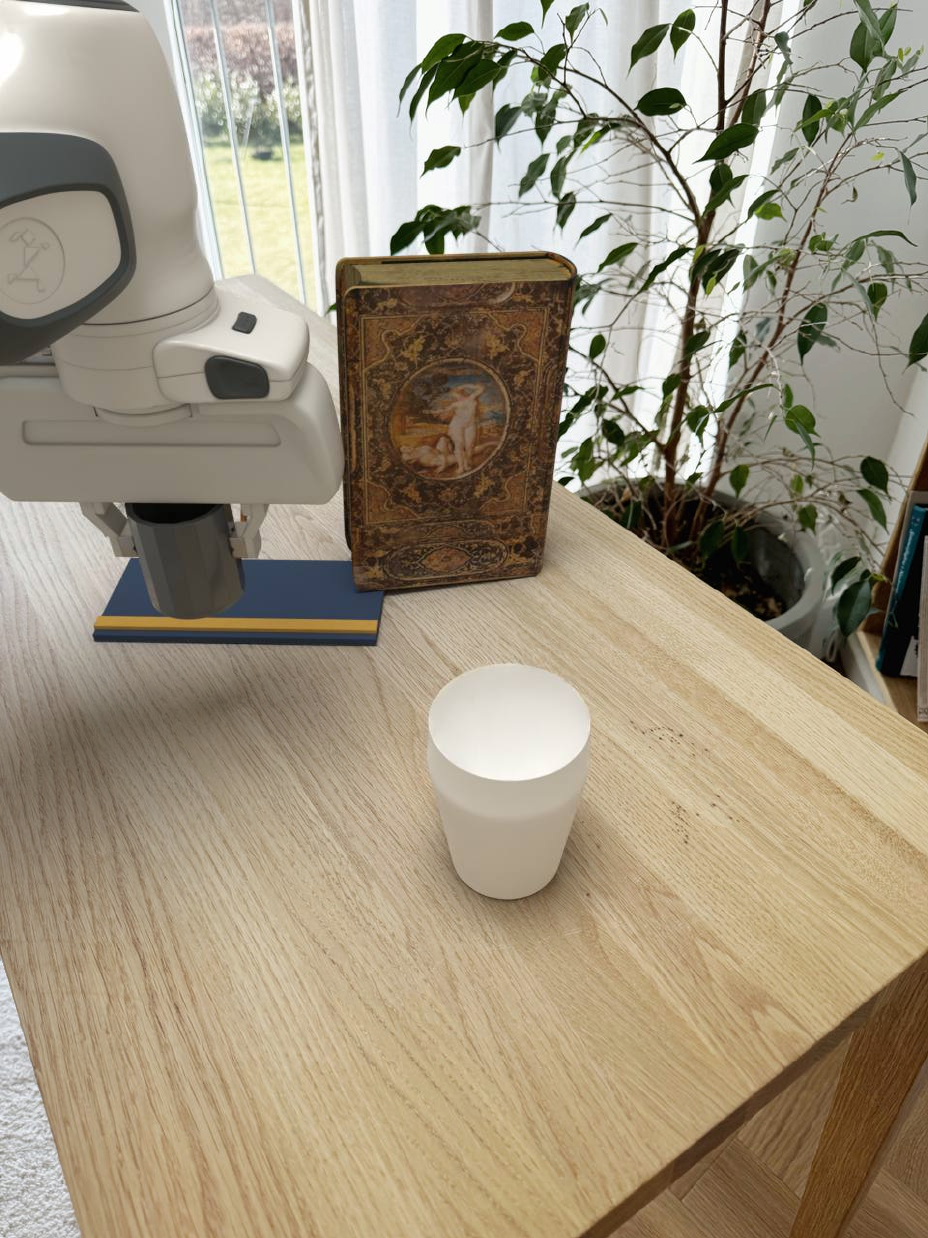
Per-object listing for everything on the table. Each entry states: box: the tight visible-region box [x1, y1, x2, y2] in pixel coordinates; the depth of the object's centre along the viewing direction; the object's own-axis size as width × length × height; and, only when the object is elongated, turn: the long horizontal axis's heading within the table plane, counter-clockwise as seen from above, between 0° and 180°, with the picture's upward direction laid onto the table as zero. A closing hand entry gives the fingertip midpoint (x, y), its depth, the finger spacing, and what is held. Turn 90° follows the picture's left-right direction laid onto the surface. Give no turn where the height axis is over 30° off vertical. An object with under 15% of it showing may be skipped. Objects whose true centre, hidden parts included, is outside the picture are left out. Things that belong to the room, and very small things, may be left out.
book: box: [334, 250, 578, 591], centre depth 74 cm, size 16×6×25 cm, turn 102°
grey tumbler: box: [123, 503, 246, 620], centre depth 60 cm, size 6×6×7 cm
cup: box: [426, 663, 591, 900], centre depth 56 cm, size 9×9×12 cm
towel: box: [91, 557, 386, 647], centre depth 78 cm, size 22×10×1 cm, turn 88°
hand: (190, 552), depth 61 cm, fingers closed on grey tumbler, 6 cm apart
